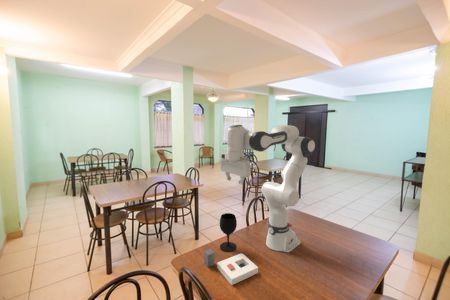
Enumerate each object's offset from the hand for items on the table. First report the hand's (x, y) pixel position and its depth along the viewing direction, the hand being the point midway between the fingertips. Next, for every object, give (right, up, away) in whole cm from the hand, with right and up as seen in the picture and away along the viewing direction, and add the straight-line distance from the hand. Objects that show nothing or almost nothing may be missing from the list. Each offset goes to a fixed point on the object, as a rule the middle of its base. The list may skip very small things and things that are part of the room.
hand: (234, 182), depth 109 cm
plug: (-14, -45, +3) cm, 47 cm away
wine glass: (-3, -43, +19) cm, 47 cm away
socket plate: (+1, -45, -2) cm, 45 cm away
